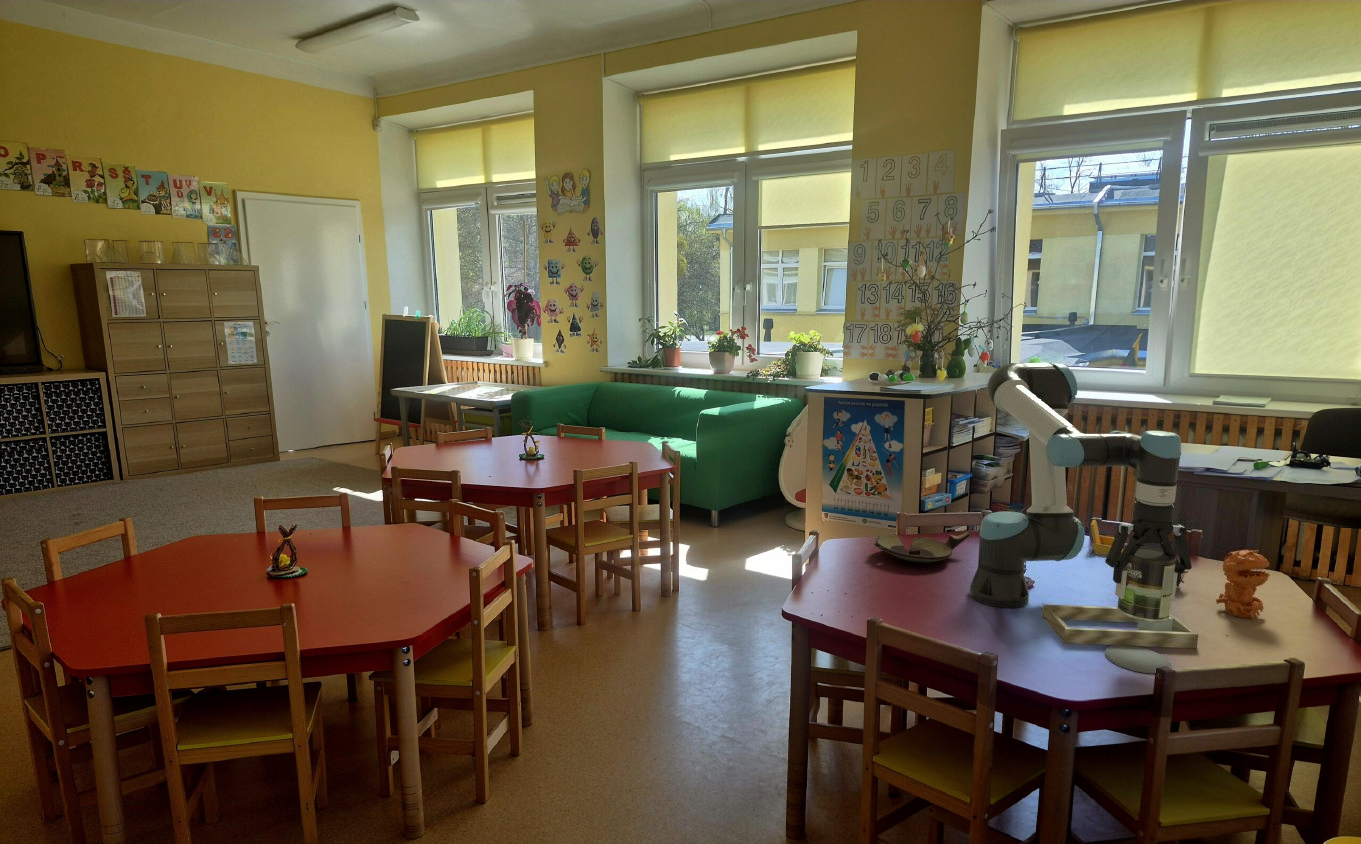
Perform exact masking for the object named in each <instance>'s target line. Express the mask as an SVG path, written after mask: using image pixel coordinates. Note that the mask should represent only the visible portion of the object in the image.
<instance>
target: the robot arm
mask: <svg viewBox="0 0 1361 844" xmlns="http://www.w3.org/2000/svg"><path fill="white" fill-rule="evenodd" d="M986 386H987V387H986V392H987V396H988V398H989V400H990V401H991V403H992V404H993V405H994V407H996V408H997V409H998V410H1000V411H1002V412H1004V413H1009V414H1010V415H1011V416H1012V417H1014V419H1015V420H1017V422H1019V423H1020V424H1022V426H1024V427H1025V429H1027V430H1028V440H1029V441H1028V442H1029V443H1028V444H1029V460H1030V461H1029V462H1030V486H1031V506H1030V507H1028V509H1027V510H1026V514H1025V513H1022V512H1017V511H1008V510H1007V511H997V512H992V513H989V514H987V515H985V516H984V517H982V519H981V524H980V530H979V547H978V561H977V568H976V571H975V573H974V575H973V578H972V580H971V582H970V585H969V589H968V591H969V592H968V594H969V596H970V598H972V599H973V600H974V601H976V602H978V603H981V604H984V605H986V606H987V605H988V606H990V607H991V606H992V607H996V608H1002V609H1003V608H1004V609H1005V608H1007V609H1017V608H1021V607H1025V606H1027V605H1028V604H1029V601H1030V599H1029V598H1030V593H1029V589H1028V585H1027V582H1026V577H1025V573H1024V572H1025V563H1026V562H1046V561H1047V562H1048V561H1050V562H1051V561H1052V562H1053V561H1055V562H1061V561H1065V560H1066V561H1068V560H1073V559H1075V558H1076V557H1078V555H1079V554H1080V553H1081V551H1082V550H1083V547H1084V544H1085V538H1086V537H1085V529H1084V526H1083V524H1082V521H1080V519H1079V518H1077V517H1076V516H1074V510H1073V509H1071V507H1069V506H1068V505H1067V503H1068V500H1067V484H1066V483H1067V482H1066V468H1068V469H1069V468H1070V469H1071V468H1088V467H1092V468H1093V467H1128V468H1131V469H1133V470H1137V477H1136V485H1135V486H1136V487H1135V495H1134V497H1135V499H1136V500H1135V501H1134V505H1133V506H1134V507H1133V520H1132V522H1131V523H1128V524H1127V523H1122V522H1118V523H1117V524H1116V526H1117V527H1116V534H1115V536H1114V538H1115V539H1114V541H1113V544H1112V546H1111V548H1110V551H1109V553H1108V555H1107V556H1106V558H1105V561H1104V562H1105V564H1107V566H1110V567H1111V568H1113V573H1112V580H1113V582H1114V583H1116V584H1115V590H1114V591H1115V593H1114V594H1115V595H1116V596H1117V597H1118V599H1119V598H1120V599H1124V597H1125V587H1126V577H1127V571H1126V570H1125V569H1124V568H1125V566H1126V565H1127V564H1128V560H1129V558H1128V555H1134V554H1135V553H1136V552H1137V550H1138V549H1139V548H1140V547H1144V545H1145V544H1152V543H1153V544H1159V545H1160V547H1161V550H1163V551H1164V553H1165V554H1167V555H1168V556H1170V557H1172V556H1176V558H1177V559H1176V562H1175V570H1174V578H1173V587H1172V595H1171V602H1174V601H1175V599H1176V590H1177V586H1176V585H1179V586H1180V584H1181V583H1180V580H1181V574H1182V573H1184V572H1185V571H1187V570H1188V571H1189V570H1191V569H1192V567H1193V566H1192V562H1191V557H1190V553H1189V552H1190V551H1189V548H1188V541H1187V532H1188V529H1187V527H1185V526H1184V525H1181V524H1180V523H1179V524H1176V525H1174V524H1173V520H1174V513H1175V505H1174V503H1175V502H1176V497H1177V496H1176V493H1177V486H1178V478H1179V477H1178V476H1179V469H1180V461H1181V455H1182V439H1181V436H1180V435H1179V434H1177V433H1175V432H1170V431H1165V430H1164V431H1163V430H1145V431H1144V432H1143V433H1142V434H1141V435H1139V434H1138V435H1137V434H1135V433H1132V432H1130V431H1126V430H1125V431H1122V430H1112V431H1110V432H1108V433H1083V432H1082V431H1081V430H1080V429H1078V428H1076V427H1075V426H1074V425H1073V424H1072V423H1070V421H1068V420H1066V419H1065V417H1064V416H1065V415H1066V414H1067V413H1068V412H1069V405H1071V404H1073V403H1075V401H1076V396H1077V395H1078V382H1077V378H1076V376H1075V374H1074V372H1073V371H1072V370H1071V369H1070V368H1069V367H1068V366H1067V365H1066V364H1062V363H1055V362H1054V363H1053V362H1029V363H1028V362H1027V363H1024V362H1023V363H1020V362H1019V363H1018V362H1015V363H1014V362H1013V363H1007V364H1005V365H1001V366H1000V367H998V368H997V369H995V371H993V373H991V376H990V377H989V379H988V382H987V385H986ZM1131 531H1132V532H1133V534H1132V536H1131V537H1130V538H1129V541H1128V543H1127V544H1126V542H1127V540H1128V537H1129V536H1128V535H1130V534H1131ZM1171 533H1172V534H1173V535H1174V541H1175V547H1176V551H1177V555H1178V556H1177V555H1176V552H1175V551H1174V549H1173V547H1172V543H1171V541H1170V539H1169V538H1168V537H1169V536H1170V534H1171ZM1125 544H1126V546H1125ZM1122 549H1124V550H1123V551H1122Z"/></svg>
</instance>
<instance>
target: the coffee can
mask: <svg viewBox="0 0 1361 844" xmlns="http://www.w3.org/2000/svg"><path fill="white" fill-rule="evenodd" d="M1123 550H1124V548H1123ZM1176 556H1177V555H1176ZM1176 556H1172V557H1170V556H1168V555H1167V554H1165V553H1164V551H1163V549H1159V548H1154V547H1149V546H1141V547H1140V548H1139V549H1138V550H1137V552H1136V553H1135V554H1134V555H1128V558H1129V560H1128V564H1127V565H1126V566H1125V568H1124V569H1125V570H1126V571H1127V577H1126V587H1125V597H1124V599H1120V598H1119V597H1118V600H1117V606H1116V607H1117V610H1118V611H1119V612H1120V613H1121V614H1123V615H1125V616H1127V617H1130V618H1133V619H1137V620H1141V621H1146V622H1165V621H1167V620H1168V619H1169V613H1170V609H1171V603H1172V601H1171V595H1172V587H1173V578H1174V570H1175V562H1176V559H1177V558H1178V557H1177V558H1176Z"/></svg>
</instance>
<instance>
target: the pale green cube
mask: <svg viewBox="0 0 1361 844" xmlns="http://www.w3.org/2000/svg"><path fill="white" fill-rule="evenodd" d="M1172 622H1173V618H1171V617H1169V619H1168V620H1167V621H1165V622H1146V621H1141V620H1138V623H1137V629H1136V630H1142V631H1167V632H1171V631H1172Z"/></svg>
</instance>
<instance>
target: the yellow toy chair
mask: <svg viewBox="0 0 1361 844" xmlns="http://www.w3.org/2000/svg"><path fill="white" fill-rule="evenodd" d="M1090 531H1091V535H1092V536H1091V537H1092V539H1093V543H1092V548H1093V552H1094V554H1096V555H1100V556H1106V557H1107V555H1108V553H1109V551H1110V548H1111V546H1112V544H1113V541H1114V539H1115V536H1114V537H1113V536H1106V535H1101V534H1100V531H1099V528H1098V522H1097V520H1096V519H1093V520H1092V521H1091V523H1090ZM1123 549H1124V548H1123ZM1123 549H1122V551H1123Z"/></svg>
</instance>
